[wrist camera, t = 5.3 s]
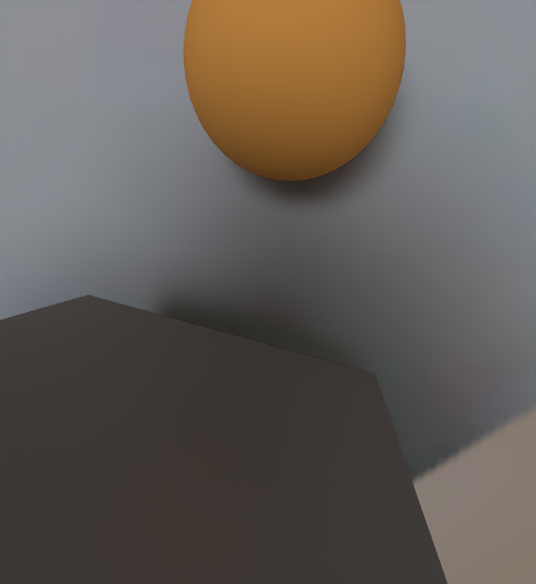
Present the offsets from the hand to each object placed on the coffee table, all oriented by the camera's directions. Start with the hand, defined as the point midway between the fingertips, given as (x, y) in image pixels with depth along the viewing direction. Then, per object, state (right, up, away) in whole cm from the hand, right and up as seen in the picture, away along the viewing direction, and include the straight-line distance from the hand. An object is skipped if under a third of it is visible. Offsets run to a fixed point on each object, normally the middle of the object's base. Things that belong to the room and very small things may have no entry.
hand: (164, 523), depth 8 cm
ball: (+3, +10, 0) cm, 11 cm away
